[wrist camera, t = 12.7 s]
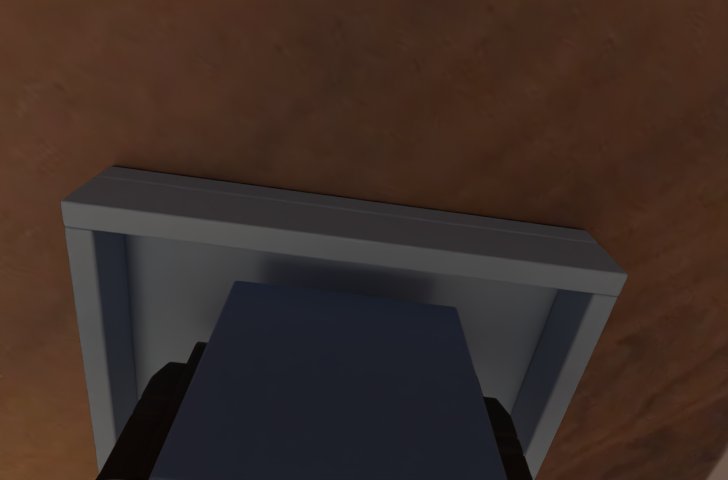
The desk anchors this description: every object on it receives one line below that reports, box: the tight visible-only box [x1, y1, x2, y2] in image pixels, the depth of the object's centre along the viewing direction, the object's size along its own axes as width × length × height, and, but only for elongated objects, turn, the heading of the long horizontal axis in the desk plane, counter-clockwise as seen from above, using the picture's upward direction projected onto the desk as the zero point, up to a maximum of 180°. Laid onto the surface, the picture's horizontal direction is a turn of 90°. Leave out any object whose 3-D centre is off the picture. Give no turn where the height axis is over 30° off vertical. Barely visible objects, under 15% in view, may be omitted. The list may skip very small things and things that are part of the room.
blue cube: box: [149, 281, 507, 480], centre depth 10 cm, size 5×5×5 cm
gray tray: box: [61, 166, 627, 480], centre depth 15 cm, size 14×12×2 cm
